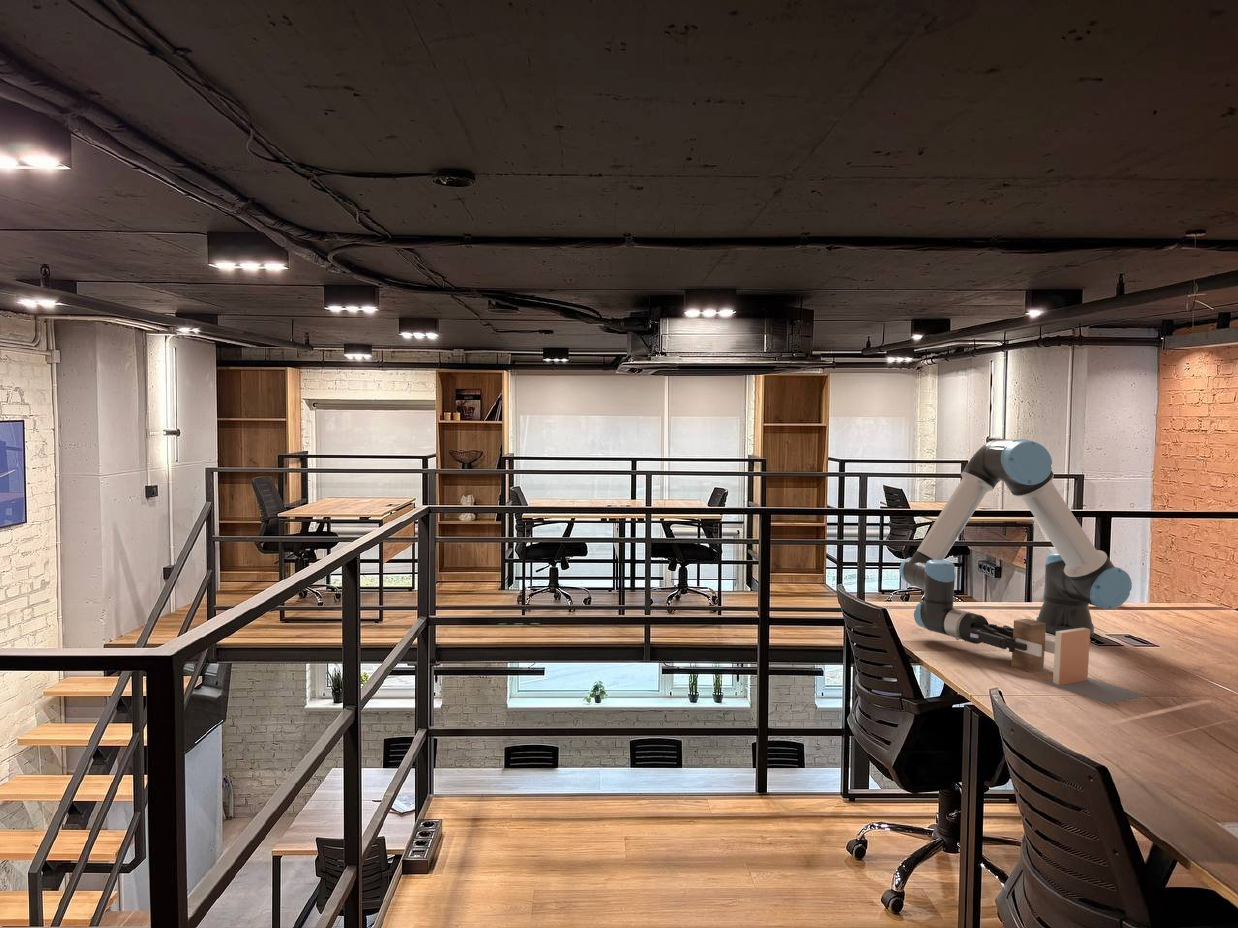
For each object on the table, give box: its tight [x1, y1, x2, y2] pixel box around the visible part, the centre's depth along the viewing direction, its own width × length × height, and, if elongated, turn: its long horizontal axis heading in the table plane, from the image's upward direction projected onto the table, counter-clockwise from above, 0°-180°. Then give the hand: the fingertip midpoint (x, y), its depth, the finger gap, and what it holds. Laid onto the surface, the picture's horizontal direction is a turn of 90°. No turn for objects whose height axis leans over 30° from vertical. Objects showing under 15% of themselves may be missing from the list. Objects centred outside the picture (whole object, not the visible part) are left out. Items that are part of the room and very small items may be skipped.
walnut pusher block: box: [1011, 618, 1047, 673], centre depth 200 cm, size 5×5×12 cm
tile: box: [1052, 628, 1091, 685], centre depth 190 cm, size 2×10×12 cm, turn 117°
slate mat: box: [1044, 677, 1148, 705], centre depth 185 cm, size 15×14×1 cm
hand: (1048, 649), depth 195 cm, fingers closed on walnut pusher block, 5 cm apart
